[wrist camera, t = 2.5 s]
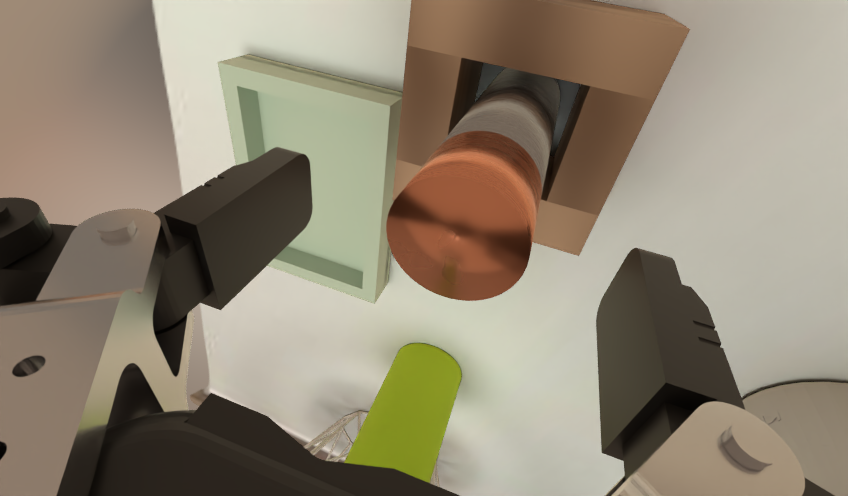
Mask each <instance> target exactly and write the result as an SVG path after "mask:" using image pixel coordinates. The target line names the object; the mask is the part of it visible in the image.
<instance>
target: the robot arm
mask: <svg viewBox="0 0 848 496" xmlns="http://www.w3.org/2000/svg"><path fill="white" fill-rule="evenodd" d="M312 209H313V205H312V187H311V170H310V161H309V159H308V157H307V156H306V155H305V154H302V153H298V152H295V151H291V150H287V149H284V148H280V147H275V148H273V149H271V150H269V151H268V152H266V153H264V154H263V155H261V156H259V157H258V158H256V159H255V160H253V161H249V162H246V163H242V164H239V165H236V166H233V167H231V168H230V169H228V170H226V171H224V172H223V173H221V174H219V175H218V177H217V178H215V177H214V178H213V179H211V180H209V181H207V182H206V183H205V185H204V186H202V185H201V186H199V187H197V188H196V189H194V190H192V191H190V192H189V193H187V194H185V195H184V196H182V197H180V198H179V199H177V200H175V201H173V202H172V203H170V204H168V205H167V206H165V207H163V208H162V209H160V210H158V211H156V212H155V213H152V212H149V211H146V210H141V209H120V210H114V211H109V212H105V213H102V214H99V215H96V216H94V217H91V218H89V219H87V220H86V221H84V222H83V223H81V224H79V225H78V226H72V225H59V224H49V223H48V221H47V219H46V218H45V216H44V214H43V212H42V211H41V209H40V207H39V205H38V204H37V203H35V202H34V201H31V200H29V199H24V198H0V496H459V495H457V494H455V493H452V492H450V491H447V490H445V489H442V488H440V487H438V486H435V485H433V484H430V483H428V482H425V481H423V480H421V479H418V478H416V477H413V476H411V475H408V474H406V473H404V472H401V471H399V470H396V469H394V468H385V467H376V466H367V465H358V464H350V463H341V462H332V461H325V460H321V459H319V458H317V457H315V456H314V455H312V454H311V453H310V452H309V451H308V450H307V449H305V448H304V447H303V446H302V445H301V444H299V443H298V442H297V441H296V440H295V439H294V438H292V437H291V436H290V435H289V434H288V433H286V432H285V431H284V430H283V429H282V428H281V427H279V426H278V425H277V424H276V423H275V422H273V421H272V420H271V419H270V418H269V417H267V416H265V415H263V414H261V413H258V412H256V411H253V410H251V409H248V408H246V407H244V406H241V405H239V404H236V403H234V402H232V401H229V400H227V399H224V398H222V397H219V396H217V395H215V394H212V393H211V394H210V395H209V396H208V397H207V398H206V399H205V401H204V402H203V403H202V404H201V405H200V406H199V408H198V409H197V410H188V404H187V398H186V382H187V374H188V366H189V358H190V350H191V341H192V334H193V326H194V315H193V311H192V309H193V308H194V307H195V306H197V305H198V304H199V303H203V304H205V305H208V306H211V307H214V308H216V309H219V310H221V309H222V308H223V307H224V306H225V305H227V304H228V303H229V302H230V301H231V300H232V299H233V298H234V297H235V296H236V295H237V294H238V293H239V292H240V291H241V290H242V289H243V288H244V287H245V286H246V285H247V284H248V283H249V282H250V281H251V280H252V279H253V278H254V277H255V276H257V275H258V274H259V273H260V272H261V271H262V270H263V269H264V268H265V267H266V266H267V265H268V264H269V263H270V262H271V261H272V260H273V259H274V258H275V257H276V256H277V255H278V254H279V253H280V252H281V251H282V250H283V249H284V248H285V247H286V246H288V245H289V244H290V243H291V242H292V241H293V240H294V239H295V238H296V237H297V236H298V235H299V234H300V233H301V232H302V231H303V230H304V229H305V228H306V226H307V225H308V223H309V221H310V218H311V215H312ZM596 327H597V351H598V374H599V398H600V421H601V445H602V453H604V454H607V455H609V456H612V457H615V458H617V459H620V460H623V461H624V470H625V476H624V477H623V478H622V479H620V480H619V481H618V482H617V483H616V484H615V485H614V486H613V487H612V488H611V489H610V491H609V492H608V493H607V494H606V495H605V496H848V383H836V382H801V383H794V384H786V385H780V386H776V387H773V388H769V389H765V390H762V391H760V392H757V393H755V394H753V395H750V396H748V397H746V398H745V399H743V400H742V399H741V396H740V393H739V391H738V388H737V385H736V382H735V380H734V377H733V374H732V372H731V369H730V366H729V363H728V361H727V358H726V355H725V353H724V350H723V348H721V347H720V345H721V342H720V339H719V336H718V333H717V331H715V330H714V328H715V325H714V323H713V320H712V317H711V314H710V312H709V309H708V307H707V306H706V304H705V303H704V302H703V301H702V300H701V298H700V297H699V296H698V295H697V294H696V292H695V291H694V290H693V289H692V288H691V287H688V286H685V285H682V284H681V281H680V277H679V274H678V271H677V268H676V265H675V262H674V260H673V259H672V258H670V257H667V256H663V255H660V254H656V253H653V252H649V251H645V250H642V249H638V248H634V249H633V250H631V251H630V253H629V254H628V255H627V257H626V259H625V260H624V262H623V264H622V265H621V267H620V269H619V270H618V272H617V274H616V275H615V277H614V279H613V281H612V282H611V284H610V286H609V287H608V289H607V291H606V292H605V294H604V296H603V298H602V300H601V302H600V305H599V308H598V312H597V319H596Z"/></svg>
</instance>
